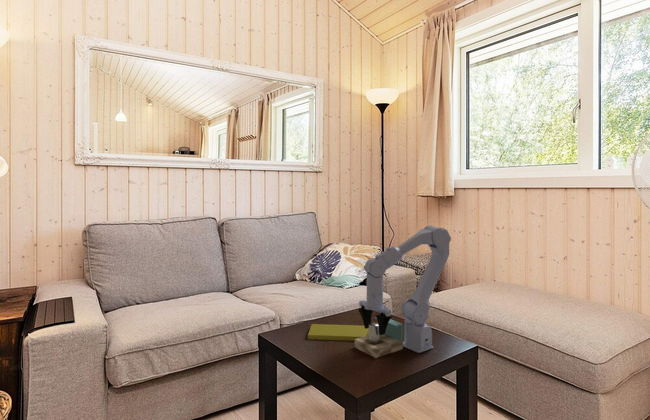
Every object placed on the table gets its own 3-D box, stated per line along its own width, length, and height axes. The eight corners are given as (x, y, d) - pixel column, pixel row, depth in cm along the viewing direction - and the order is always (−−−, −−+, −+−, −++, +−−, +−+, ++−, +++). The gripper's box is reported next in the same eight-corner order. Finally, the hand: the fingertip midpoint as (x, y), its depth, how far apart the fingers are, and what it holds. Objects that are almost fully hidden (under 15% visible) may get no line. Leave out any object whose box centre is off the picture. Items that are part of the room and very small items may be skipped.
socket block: (402, 349, 141) (402, 340, 141) (375, 358, 134) (375, 349, 134) (381, 339, 150) (381, 331, 150) (354, 347, 143) (354, 339, 143)
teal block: (402, 340, 141) (403, 323, 141) (395, 342, 139) (396, 325, 139) (381, 331, 150) (381, 315, 150) (374, 333, 148) (374, 317, 148)
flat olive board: (307, 340, 151) (371, 342, 148) (307, 334, 150) (371, 337, 148) (311, 329, 163) (371, 331, 160) (311, 323, 163) (371, 325, 160)
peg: (382, 350, 140) (382, 325, 140) (373, 352, 138) (374, 327, 137) (374, 346, 143) (374, 321, 143) (366, 349, 141) (366, 324, 141)
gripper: (352, 290, 143) (352, 327, 144) (380, 299, 131) (380, 339, 132) (367, 287, 147) (367, 323, 148) (395, 296, 136) (395, 335, 136)
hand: (374, 331), depth 140 cm, fingers open, 7 cm apart
